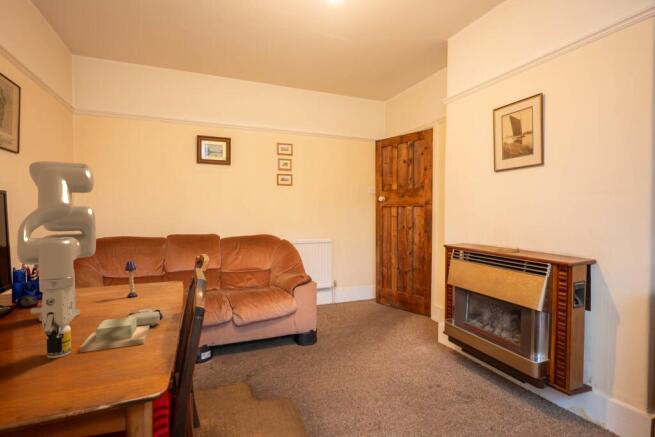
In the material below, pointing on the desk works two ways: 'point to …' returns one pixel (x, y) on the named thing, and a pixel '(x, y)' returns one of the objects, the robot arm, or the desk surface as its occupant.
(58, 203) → the robot arm
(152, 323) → the robot toy
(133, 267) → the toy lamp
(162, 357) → the desk surface
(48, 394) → the desk surface
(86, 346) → the base board
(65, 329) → the supplement bottle
